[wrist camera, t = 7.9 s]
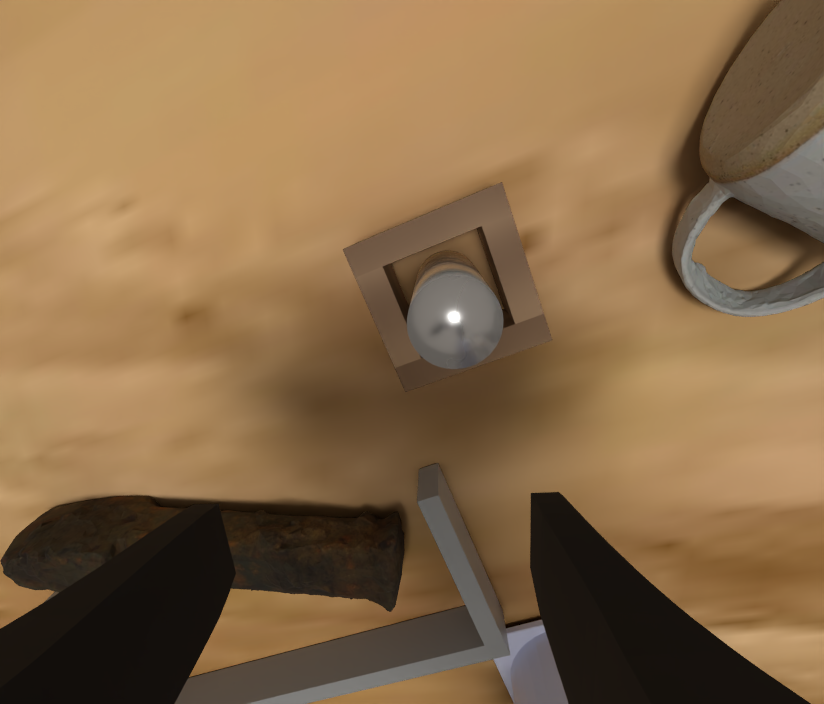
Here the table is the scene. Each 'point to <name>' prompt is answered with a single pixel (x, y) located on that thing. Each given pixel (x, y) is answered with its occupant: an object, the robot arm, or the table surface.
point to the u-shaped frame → (379, 633)
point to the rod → (453, 313)
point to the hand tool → (248, 540)
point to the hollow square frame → (471, 212)
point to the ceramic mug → (765, 153)
